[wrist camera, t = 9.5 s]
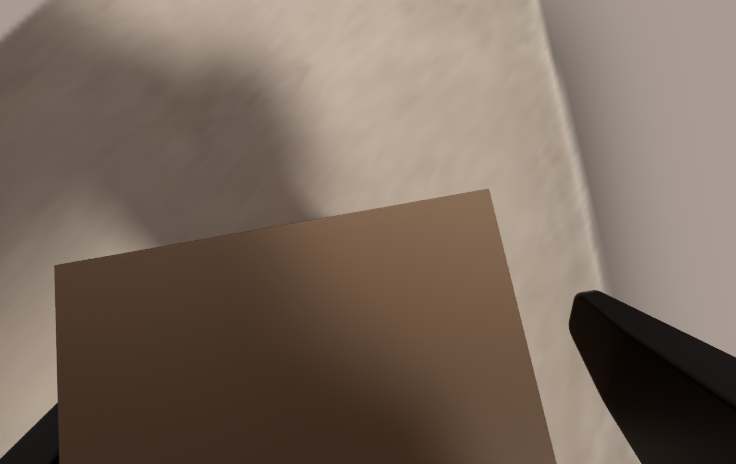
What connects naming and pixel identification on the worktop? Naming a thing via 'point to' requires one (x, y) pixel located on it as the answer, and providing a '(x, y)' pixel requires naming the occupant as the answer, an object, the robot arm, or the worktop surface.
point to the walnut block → (303, 346)
